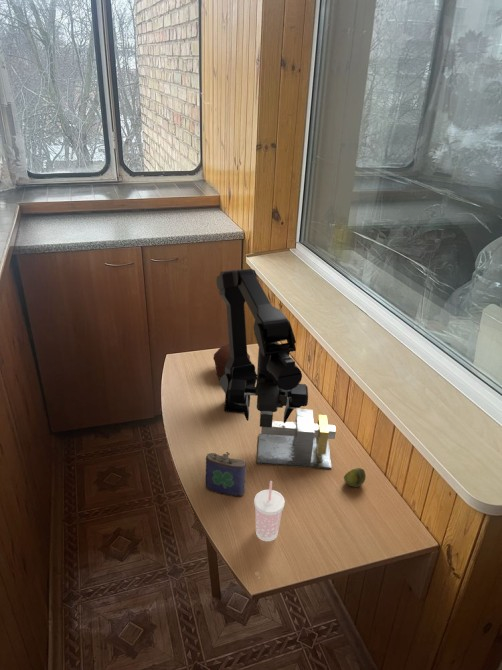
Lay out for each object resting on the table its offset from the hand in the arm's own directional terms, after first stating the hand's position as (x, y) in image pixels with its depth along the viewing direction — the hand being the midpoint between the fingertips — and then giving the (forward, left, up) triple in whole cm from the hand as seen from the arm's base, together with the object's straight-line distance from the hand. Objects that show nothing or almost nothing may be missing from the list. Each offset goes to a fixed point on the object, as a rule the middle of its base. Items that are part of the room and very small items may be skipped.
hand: (265, 421), depth 125 cm
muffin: (-11, +34, -9) cm, 37 cm away
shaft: (+8, 0, -3) cm, 8 cm away
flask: (-8, -15, -9) cm, 20 cm away
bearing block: (+8, 0, -9) cm, 12 cm away
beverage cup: (+2, -26, -9) cm, 28 cm away
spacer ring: (+14, 0, -3) cm, 14 cm away
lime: (+22, -10, -9) cm, 25 cm away
